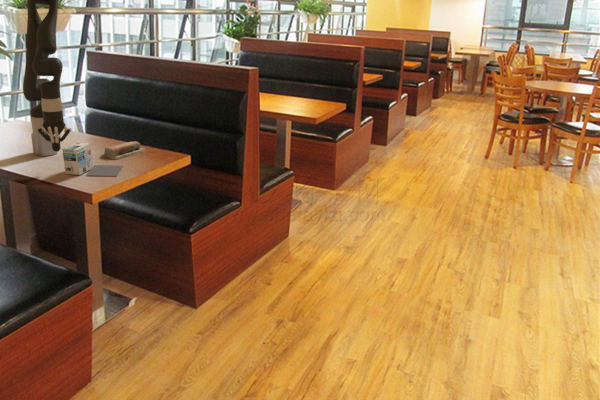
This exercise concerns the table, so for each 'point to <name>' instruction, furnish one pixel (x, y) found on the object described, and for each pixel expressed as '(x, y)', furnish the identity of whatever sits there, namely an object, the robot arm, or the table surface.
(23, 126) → the table surface
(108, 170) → the mat
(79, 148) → the light bulb box
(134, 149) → the packaged product
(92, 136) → the table surface
